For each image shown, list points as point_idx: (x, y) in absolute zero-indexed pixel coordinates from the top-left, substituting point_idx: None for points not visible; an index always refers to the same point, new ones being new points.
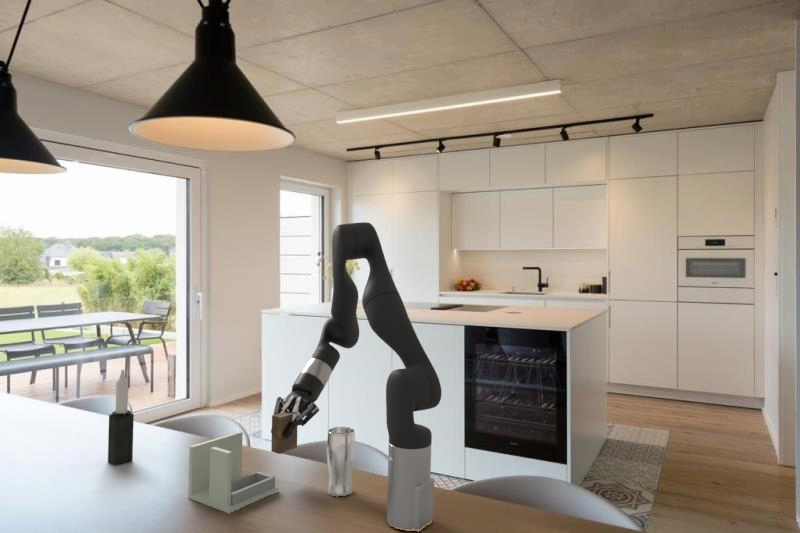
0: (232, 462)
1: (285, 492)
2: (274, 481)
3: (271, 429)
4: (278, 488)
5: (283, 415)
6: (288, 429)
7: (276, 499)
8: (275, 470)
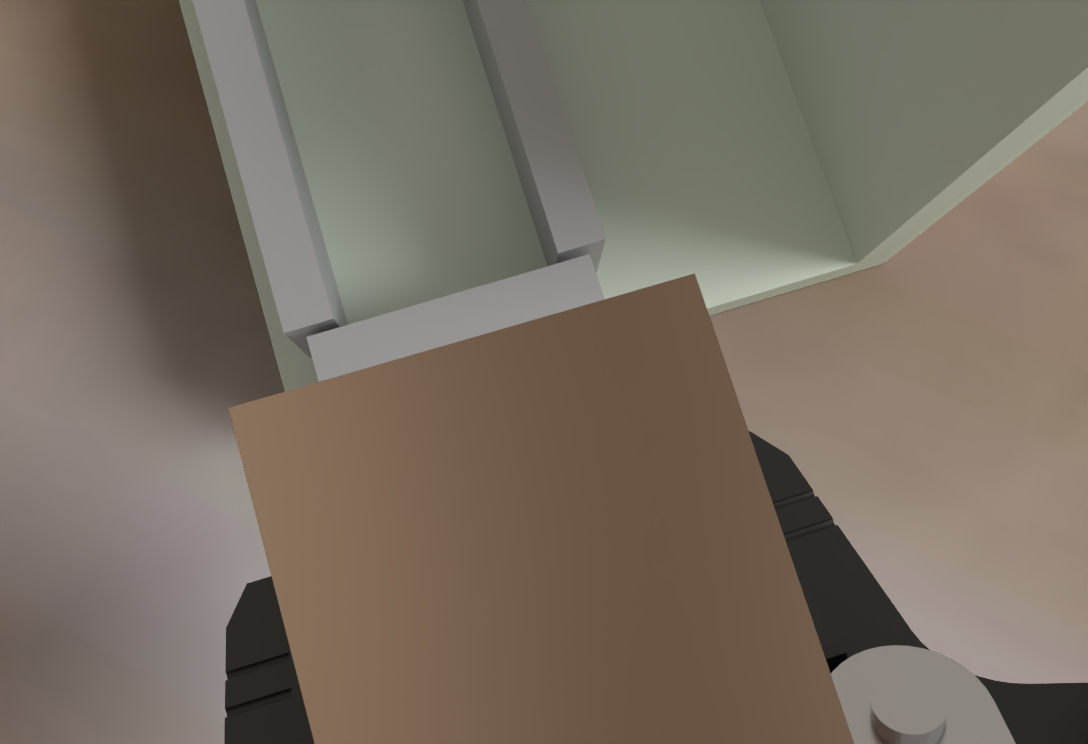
0: (875, 57)
1: (245, 490)
2: None
3: (766, 444)
4: None
5: (420, 646)
6: (262, 682)
7: (148, 329)
8: None
